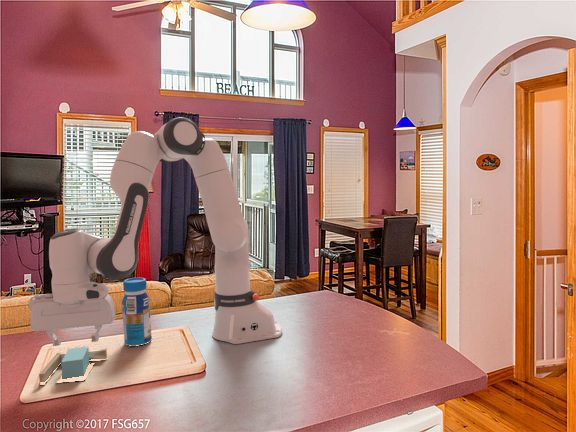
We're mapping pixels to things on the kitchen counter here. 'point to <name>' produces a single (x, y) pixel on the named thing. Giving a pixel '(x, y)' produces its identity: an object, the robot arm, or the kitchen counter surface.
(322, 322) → the kitchen counter surface
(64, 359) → the teal block
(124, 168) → the robot arm
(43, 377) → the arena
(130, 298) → the beverage bottle
